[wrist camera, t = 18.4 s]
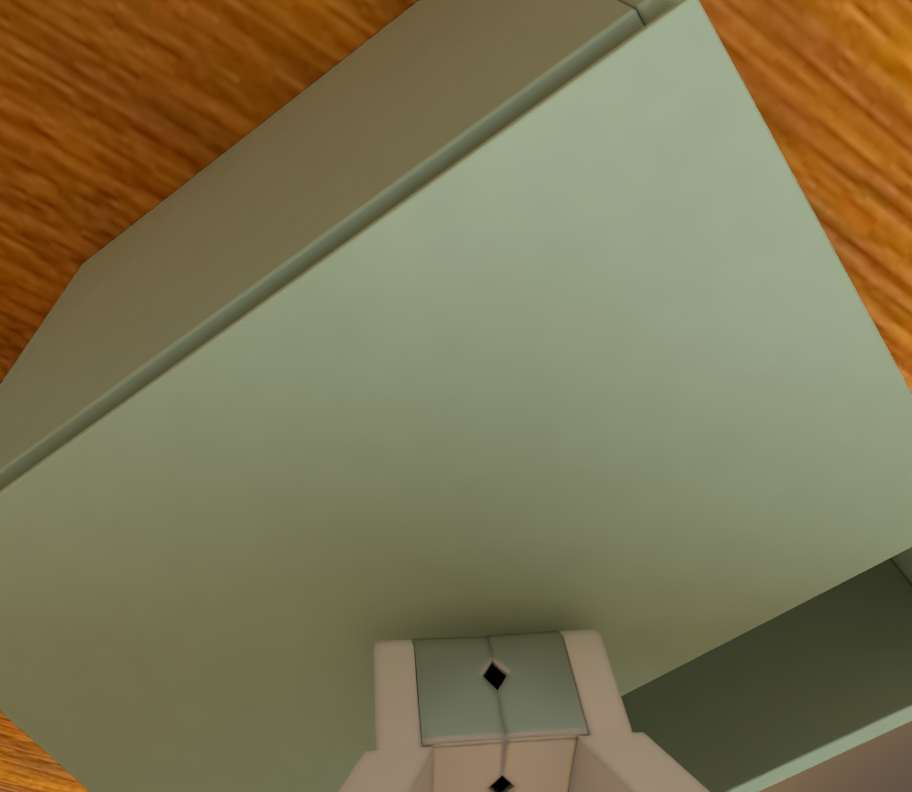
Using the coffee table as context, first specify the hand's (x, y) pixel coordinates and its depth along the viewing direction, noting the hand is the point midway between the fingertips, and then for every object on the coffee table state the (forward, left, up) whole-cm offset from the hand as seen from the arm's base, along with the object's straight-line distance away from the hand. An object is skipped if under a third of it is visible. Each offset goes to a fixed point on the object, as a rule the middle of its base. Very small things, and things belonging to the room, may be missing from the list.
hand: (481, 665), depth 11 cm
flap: (-2, 0, -1) cm, 2 cm away
